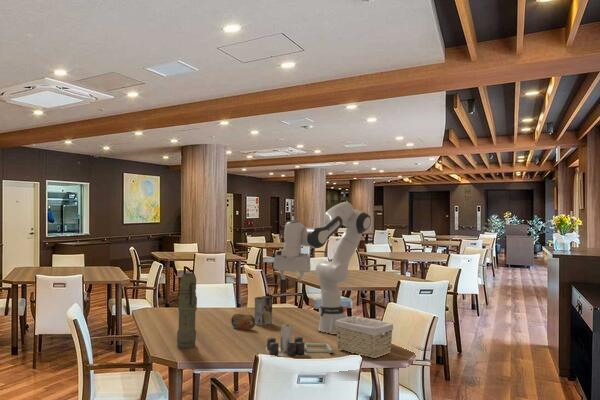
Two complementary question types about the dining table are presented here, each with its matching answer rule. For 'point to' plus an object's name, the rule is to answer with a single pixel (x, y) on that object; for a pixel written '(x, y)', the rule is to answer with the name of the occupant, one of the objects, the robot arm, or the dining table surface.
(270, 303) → the coffee box
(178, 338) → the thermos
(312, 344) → the tray
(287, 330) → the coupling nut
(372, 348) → the storage basket
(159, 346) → the dining table surface
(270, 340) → the spacer board
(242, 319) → the tin
